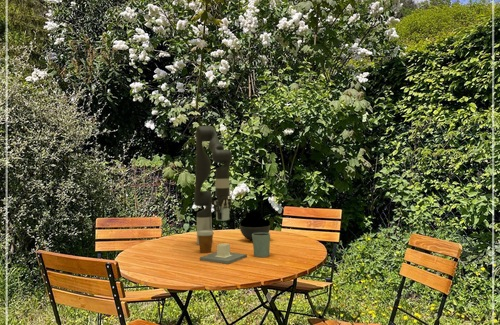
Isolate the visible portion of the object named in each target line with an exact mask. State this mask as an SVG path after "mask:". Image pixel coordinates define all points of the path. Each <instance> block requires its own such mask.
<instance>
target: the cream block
mask: <svg viewBox="0 0 500 325" xmlns="http://www.w3.org/2000/svg"><path fill="white" fill-rule="evenodd" d="M216 252H217V256H220V257H227V256H229V255H230V252H231V243H226V242H225V243H223V242H221V243H219V244H217V245H216Z"/></svg>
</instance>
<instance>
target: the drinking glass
mask: <svg viewBox="0 0 500 325" xmlns="http://www.w3.org/2000/svg"><path fill="white" fill-rule="evenodd" d="M252 239H253V241H252V247H253V249H252V251H253V256H254V257H255V258H269V257H270V254H271V252H270V249H271V248H270V247H271V244H270V243H271V242H270V241H271V233H270V232H269V233H253V234H252Z"/></svg>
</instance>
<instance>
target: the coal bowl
mask: <svg viewBox="0 0 500 325" xmlns="http://www.w3.org/2000/svg"><path fill="white" fill-rule="evenodd" d="M245 214H246V215H245V216H244V217H243V219H242V220H240V225H239V230H240V233H241V234H242V236H243V237H244V238H245V239H247V240H249V241H252V242H253V239H252V234H253V233H270V230H271V222H270V220H269V219H265V218H260V217H261V215H262V213H261V212H259V211H256V210H254V211H253V210H252V211H249V212H246V213H245Z"/></svg>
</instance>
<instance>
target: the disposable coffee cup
mask: <svg viewBox="0 0 500 325" xmlns="http://www.w3.org/2000/svg"><path fill="white" fill-rule="evenodd" d="M197 234H198V239H199V245H198V246H199V252H200V253H201V254H208V253H209V254H210V253H212V247H213V246H212V245H213V243H212V239H213V237H214V231H212V230H200V231H198V233H197V232H196V235H197ZM213 240H214V239H213Z"/></svg>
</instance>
